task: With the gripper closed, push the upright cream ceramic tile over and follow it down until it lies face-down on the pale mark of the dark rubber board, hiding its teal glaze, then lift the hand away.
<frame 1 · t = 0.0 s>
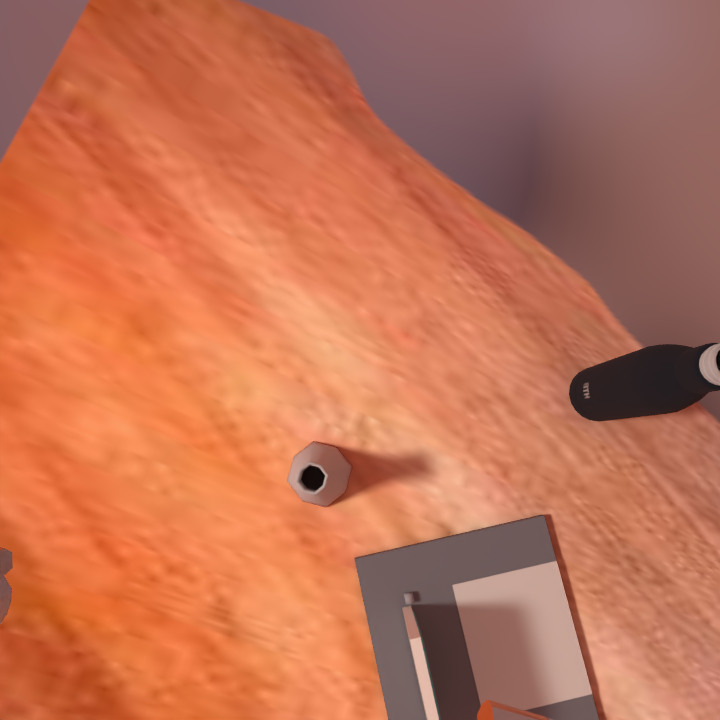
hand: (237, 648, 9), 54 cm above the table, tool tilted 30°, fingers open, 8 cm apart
tile: (425, 683, 53), point 6 cm above the table, hinge at 0.0°
board: (475, 646, 59), on the table
wine bottle: (595, 394, 64), on the table
flask: (319, 473, 63), on the table
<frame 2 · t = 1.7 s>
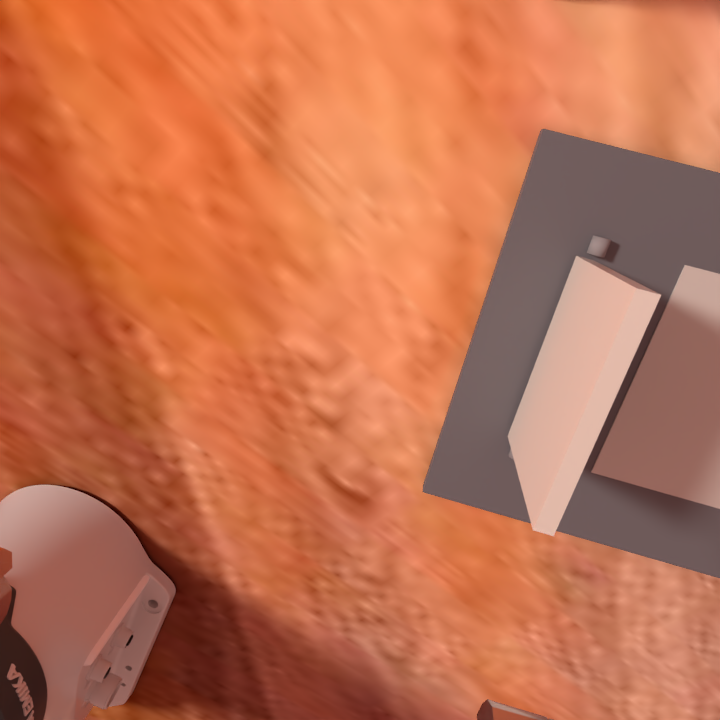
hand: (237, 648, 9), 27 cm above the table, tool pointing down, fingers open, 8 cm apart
tile: (567, 383, 28), point 6 cm above the table, hinge at 0.0°
board: (645, 375, 34), on the table
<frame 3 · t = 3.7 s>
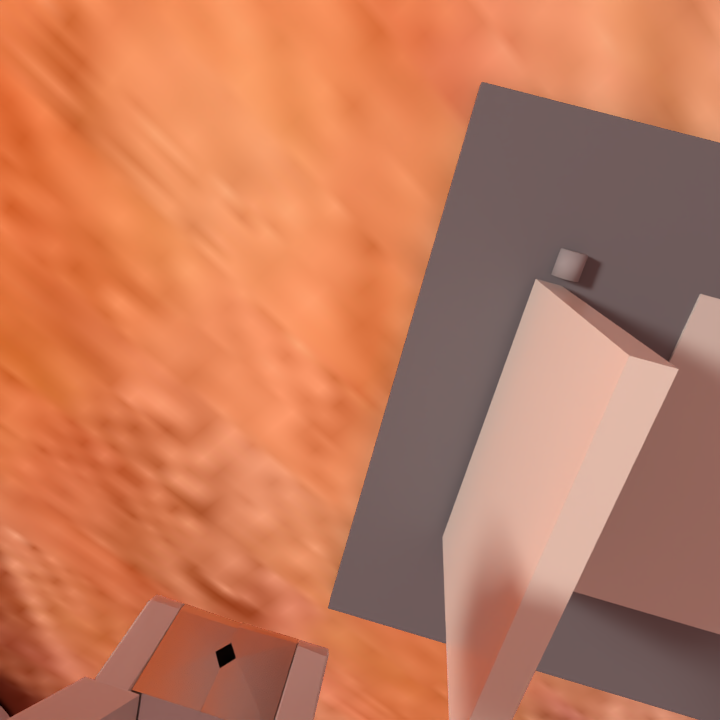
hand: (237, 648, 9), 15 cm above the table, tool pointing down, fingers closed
tile: (518, 486, 17), point 6 cm above the table, hinge at 0.0°
board: (641, 452, 23), on the table
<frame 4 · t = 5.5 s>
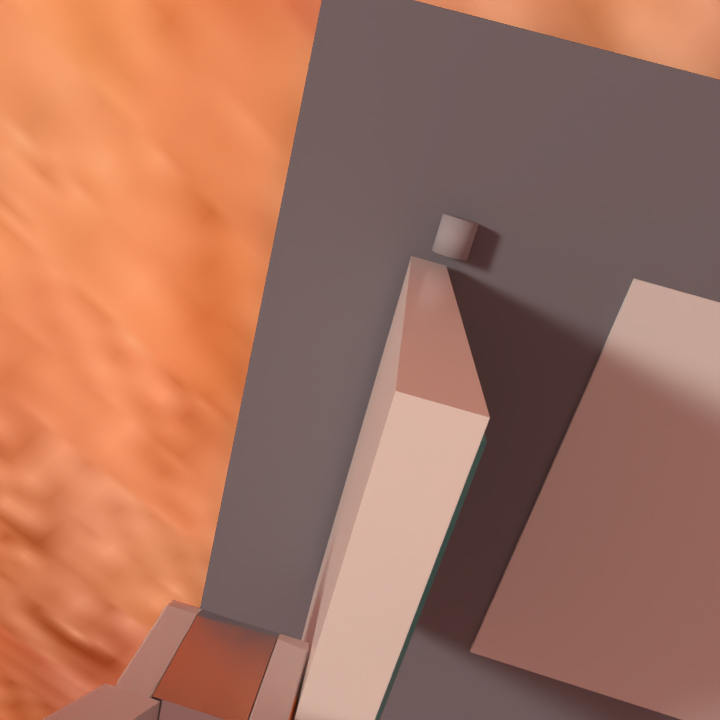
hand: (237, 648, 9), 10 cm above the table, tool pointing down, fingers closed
tile: (358, 550, 12), point 6 cm above the table, hinge at 2.0°, touching gripper
board: (565, 485, 18), on the table
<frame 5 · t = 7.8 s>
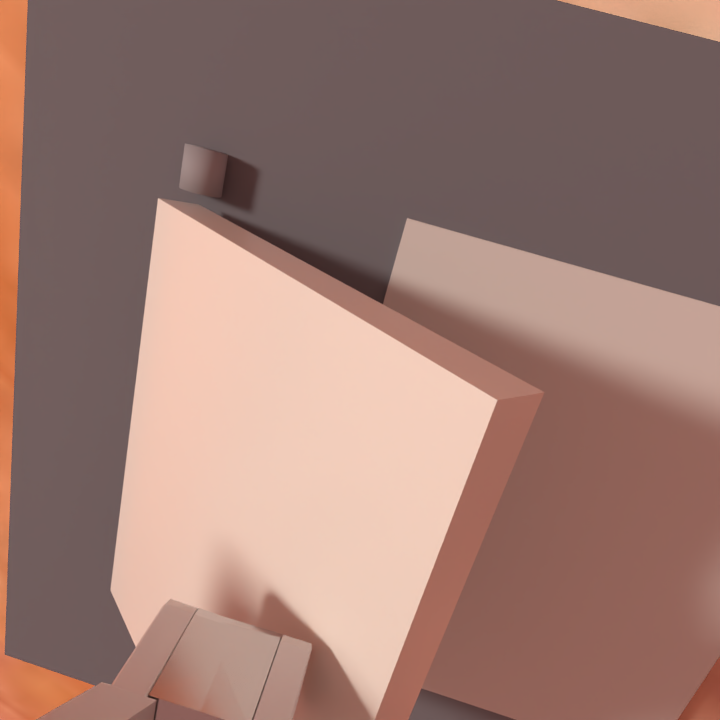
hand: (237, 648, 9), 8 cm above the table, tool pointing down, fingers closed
tile: (237, 532, 12), point 5 cm above the table, hinge at 48.7°, touching gripper
board: (375, 459, 16), on the table
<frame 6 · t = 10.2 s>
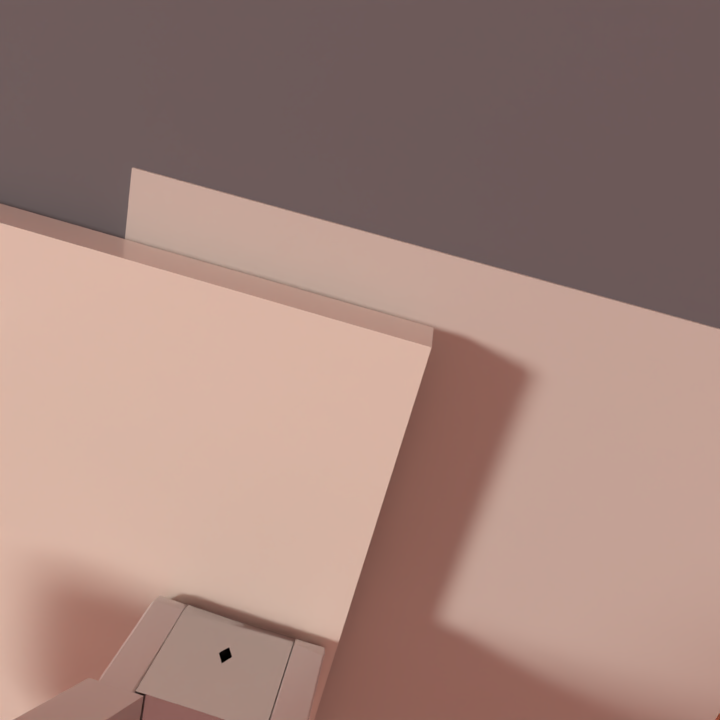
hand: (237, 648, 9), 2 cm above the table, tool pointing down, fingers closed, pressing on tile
tile: (69, 564, 10), point 2 cm above the table, hinge at 89.2°, touching gripper
board: (166, 525, 11), on the table
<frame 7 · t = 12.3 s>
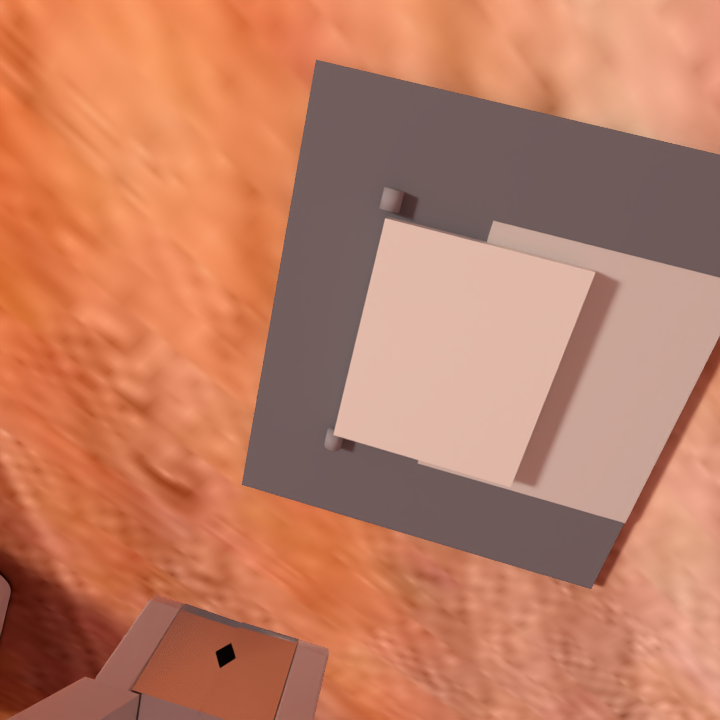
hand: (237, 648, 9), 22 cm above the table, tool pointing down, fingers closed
tile: (452, 357, 28), point 2 cm above the table, hinge at 89.2°
board: (470, 352, 29), on the table
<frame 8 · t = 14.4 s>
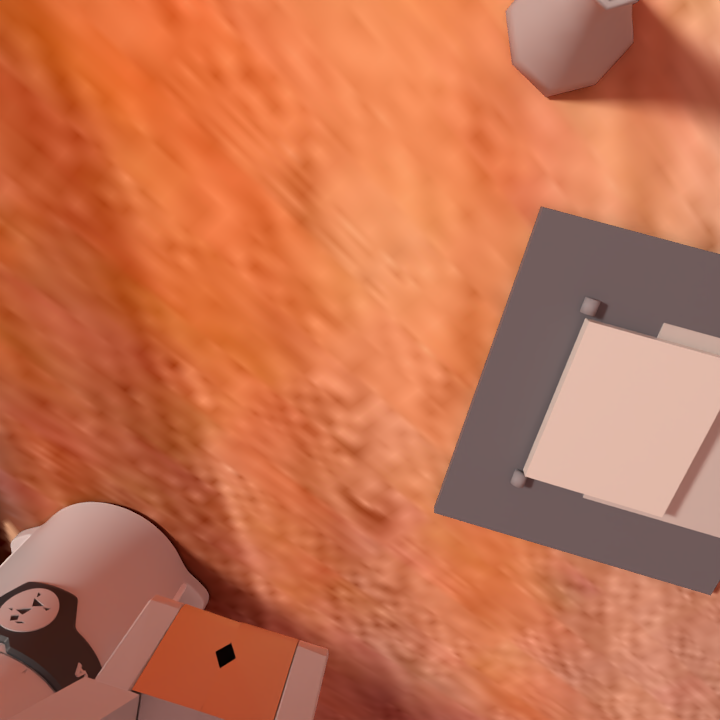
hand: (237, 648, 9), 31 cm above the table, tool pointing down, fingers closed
tile: (624, 420, 37), point 2 cm above the table, hinge at 89.2°
board: (630, 414, 39), on the table
flask: (567, 29, 32), on the table
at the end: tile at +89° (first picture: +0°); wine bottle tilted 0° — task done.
